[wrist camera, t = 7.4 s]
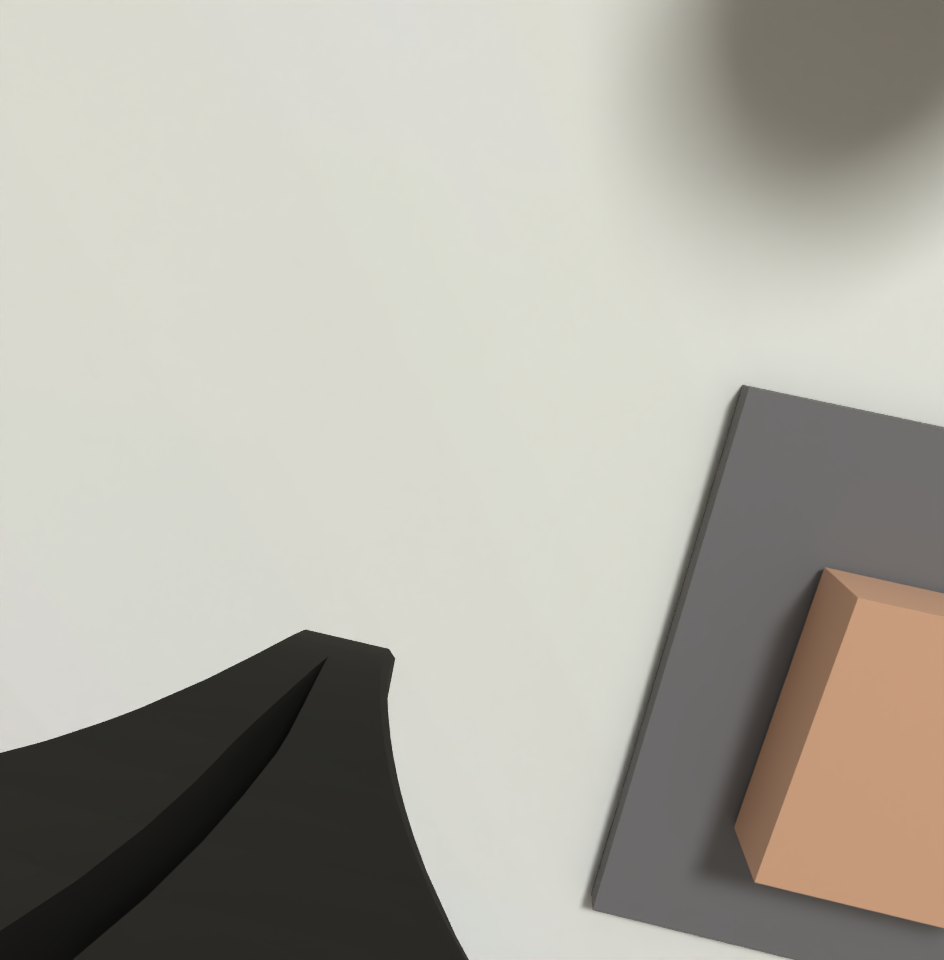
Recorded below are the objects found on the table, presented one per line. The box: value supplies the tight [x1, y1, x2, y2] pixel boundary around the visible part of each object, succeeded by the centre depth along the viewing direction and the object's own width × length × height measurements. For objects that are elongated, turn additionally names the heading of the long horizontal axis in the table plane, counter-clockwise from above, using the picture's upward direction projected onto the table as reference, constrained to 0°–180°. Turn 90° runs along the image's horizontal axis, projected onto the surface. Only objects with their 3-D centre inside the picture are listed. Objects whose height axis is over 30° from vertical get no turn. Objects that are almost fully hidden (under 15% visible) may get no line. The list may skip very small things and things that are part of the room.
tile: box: [734, 567, 944, 928], centre depth 18 cm, size 8×2×7 cm
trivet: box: [592, 385, 944, 960], centre depth 19 cm, size 16×15×1 cm
